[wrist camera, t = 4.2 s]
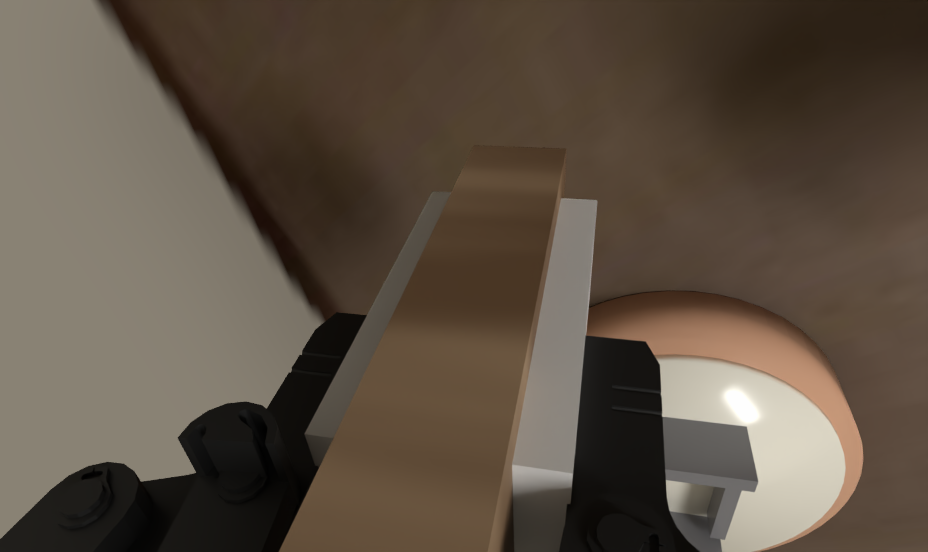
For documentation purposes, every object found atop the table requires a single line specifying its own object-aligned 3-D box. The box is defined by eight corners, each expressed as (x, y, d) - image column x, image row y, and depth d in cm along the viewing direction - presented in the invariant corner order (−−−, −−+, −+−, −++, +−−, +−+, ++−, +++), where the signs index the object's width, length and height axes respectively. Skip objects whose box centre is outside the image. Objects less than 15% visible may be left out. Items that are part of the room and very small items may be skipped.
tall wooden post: (473, 145, 13) (86, 951, 4) (566, 148, 13) (387, 1064, 3) (481, 289, 15) (256, 1003, 6) (560, 296, 15) (445, 1073, 6)
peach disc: (518, 278, 25) (495, 376, 21) (890, 306, 23) (959, 427, 18) (519, 482, 33) (503, 587, 29) (793, 522, 31) (824, 645, 26)
